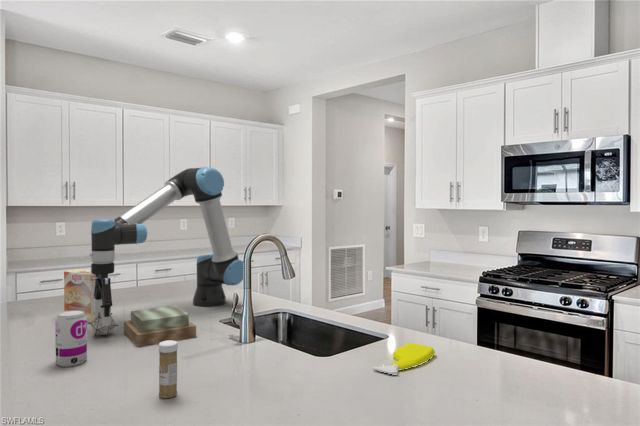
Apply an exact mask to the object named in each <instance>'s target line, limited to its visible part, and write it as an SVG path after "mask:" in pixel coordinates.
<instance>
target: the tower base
mask: <svg viewBox="0 0 640 426" xmlns="http://www.w3.org/2000/svg"><path fill="white" fill-rule="evenodd" d="M189 318H190V314H189V313H187V312H185V311H184V310H183V309H180V308H179V307H177V306H176V305H167V306H162V307H161V306H160V307H152V308H146V309H138V310H131V312H130V320H125V321H123V333H124V334H125V335H126V336H127V337H128V339H130V340H131V342H133V344H134V345H136V346H137V348H140V347H145V346H152V344H153V345H159V343H160V342H163V341H167V340H173V341H176V342H177V341H180V340H181V341H182V340H187V339H194V338H197V325H195V324H194V323H192V322H191V321H190V319H189Z"/></svg>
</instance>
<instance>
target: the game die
mask: <svg viewBox="0 0 640 426" xmlns="http://www.w3.org/2000/svg"><path fill="white" fill-rule="evenodd" d="M98 314H99V315H98V316H97V317H96V318H95V319H94V320H93V322H87V325H91V329H92V330H93V332H94V334H93V337H96V336H97V335H103V336H106V338H109V334H110V333H111V331H113V330H114V328H116V327H119V324H116V323H115V320H114V319H113V316H112V315H113V312H111V325H110V326H102V314H100V313H98Z"/></svg>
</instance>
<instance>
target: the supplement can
mask: <svg viewBox="0 0 640 426" xmlns="http://www.w3.org/2000/svg"><path fill="white" fill-rule="evenodd" d="M54 320H55V321H54V323H55V328H54V329H55V364H56V365H58V366H59V367H62V368H64V367H65V368H67V367H74V366H79V365H81V364H83V363H85V361H87V359H88V346H87V345H88V344H87V343H88V336H87V334H88V328H87V327H88V322H87V317H86V315H85V313H84V311H82V310H71V311H61V312H59V313H58V314H57V316H56V318H55V319H54Z"/></svg>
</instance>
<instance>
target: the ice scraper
mask: <svg viewBox="0 0 640 426" xmlns="http://www.w3.org/2000/svg"><path fill="white" fill-rule="evenodd" d="M434 354H436V353H435V350H434V348H433V346H428V345H423V344H419V343H414V342H409V343H406V344H403V345H402V346H400V347H398V348H397V349H395V350H394V351H393V353H392V356H393V359H394V358H395V359H396V360H397V361H396V360H395V359H394V360H395V362H392V363H391V364H390V365H385V364H384V363H382V366H378V367H377V366H373V368H372V370H373V371H375V370H377V371H380V372H384V373H388V374H387V375H389V374H398V373H399V371H397V370H399V369H405V368H409V367H412V366H415V365H419V364H421V363H423V362H425V361H427V360H429V359H430V358H431V357H432V356H434V357H435V355H434ZM430 360H431V359H430ZM430 360H429V361H430ZM377 371H376V372H377ZM380 372H379V373H380ZM384 373H383V374H384Z"/></svg>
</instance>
